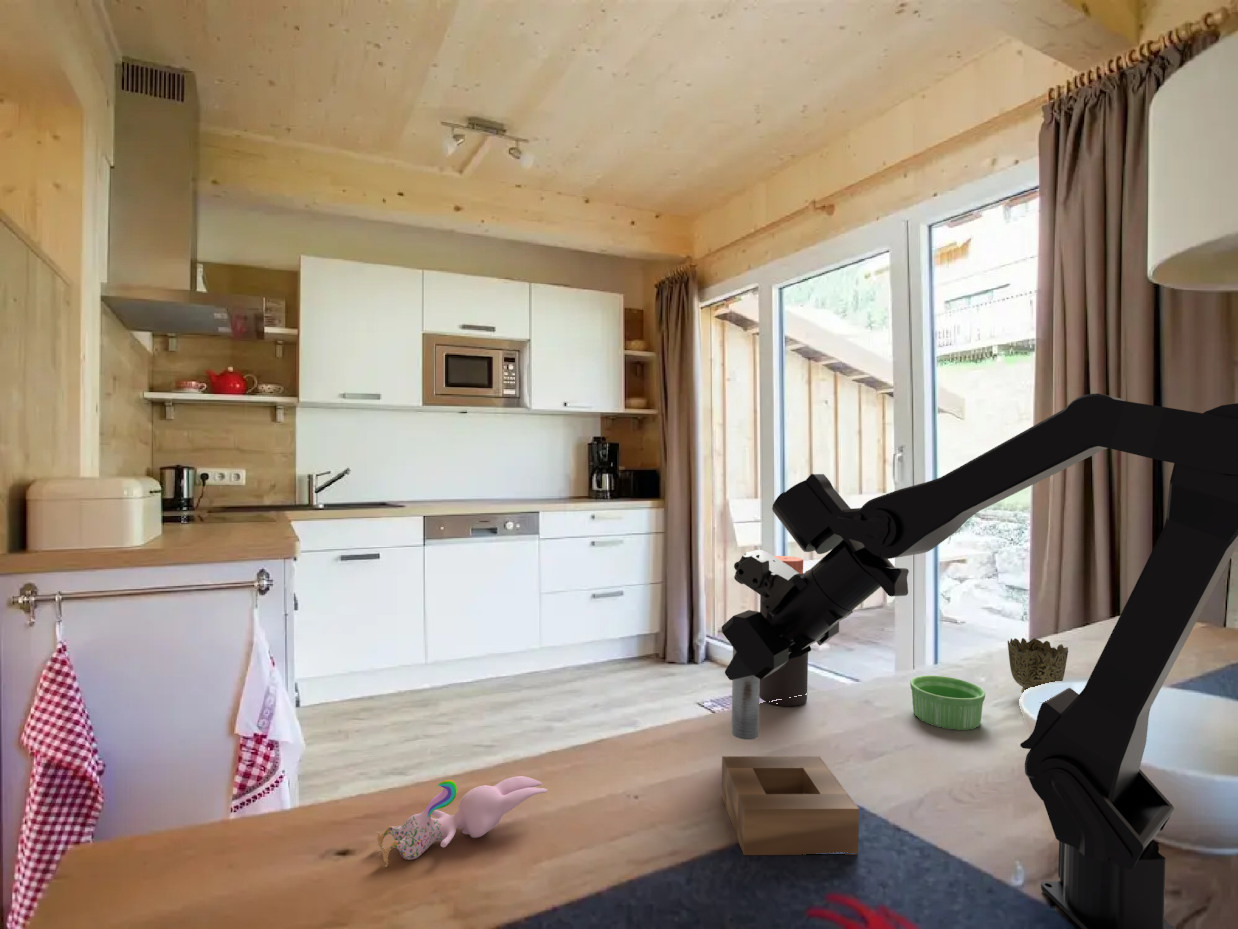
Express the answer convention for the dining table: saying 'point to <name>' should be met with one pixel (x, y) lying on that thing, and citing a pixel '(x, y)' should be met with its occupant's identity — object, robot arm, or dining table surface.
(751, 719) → the steel rod
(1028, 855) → the dining table surface
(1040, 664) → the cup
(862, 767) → the dining table surface
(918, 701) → the ramekin
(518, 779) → the rabbit figure
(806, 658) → the bottle
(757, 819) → the walnut square frame
